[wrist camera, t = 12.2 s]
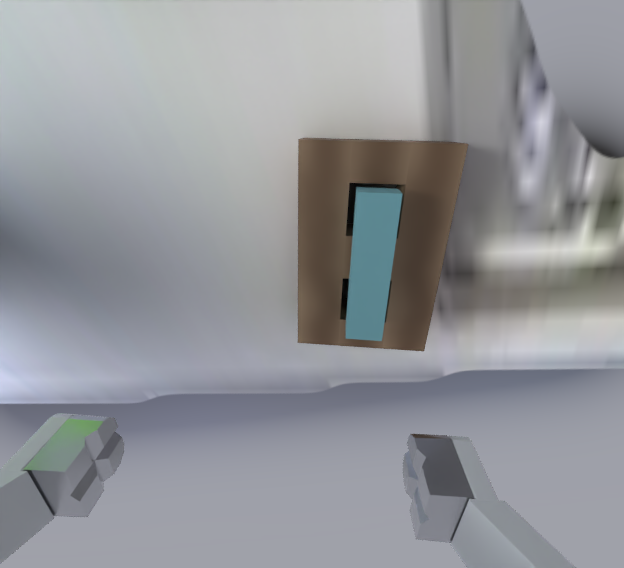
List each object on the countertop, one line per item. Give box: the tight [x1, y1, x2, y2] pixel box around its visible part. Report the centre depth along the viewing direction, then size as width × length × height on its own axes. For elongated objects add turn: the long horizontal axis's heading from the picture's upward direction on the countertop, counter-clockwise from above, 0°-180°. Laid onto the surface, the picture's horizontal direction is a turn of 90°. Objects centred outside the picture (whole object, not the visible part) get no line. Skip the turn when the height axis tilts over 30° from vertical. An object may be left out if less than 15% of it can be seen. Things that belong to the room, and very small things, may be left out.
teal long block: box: [345, 186, 402, 341], centre depth 28 cm, size 3×12×7 cm, turn 179°
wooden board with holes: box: [298, 138, 468, 351], centre depth 29 cm, size 12×18×4 cm, turn 179°
